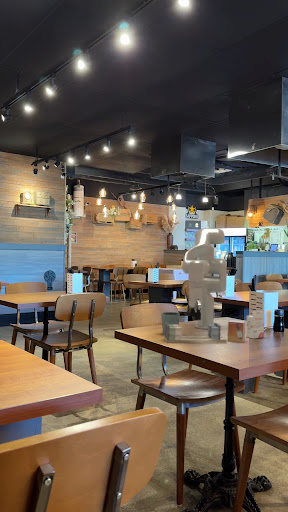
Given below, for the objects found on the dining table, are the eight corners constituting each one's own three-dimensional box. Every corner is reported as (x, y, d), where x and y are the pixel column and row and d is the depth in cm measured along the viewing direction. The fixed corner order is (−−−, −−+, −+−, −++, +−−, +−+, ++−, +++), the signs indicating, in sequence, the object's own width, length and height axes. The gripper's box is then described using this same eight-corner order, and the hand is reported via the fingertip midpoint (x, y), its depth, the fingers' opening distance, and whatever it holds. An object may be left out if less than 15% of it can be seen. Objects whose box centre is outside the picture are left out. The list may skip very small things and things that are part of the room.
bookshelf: (164, 339, 220) (164, 322, 220) (220, 339, 223) (220, 322, 223) (167, 344, 209) (167, 326, 209) (226, 344, 212) (226, 326, 212)
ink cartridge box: (257, 335, 235) (258, 309, 235) (264, 337, 231) (264, 310, 231) (245, 336, 231) (246, 310, 231) (252, 338, 227) (252, 311, 227)
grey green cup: (183, 335, 232) (183, 313, 232) (171, 337, 225) (171, 315, 225) (168, 332, 239) (169, 311, 239) (157, 334, 232) (157, 313, 232)
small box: (227, 341, 218) (227, 321, 218) (229, 339, 224) (230, 319, 223) (243, 343, 215) (243, 322, 215) (244, 341, 221) (245, 321, 220)
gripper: (185, 283, 224) (184, 315, 225) (192, 286, 207) (191, 321, 207) (199, 283, 225) (198, 315, 225) (207, 286, 208) (206, 321, 208)
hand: (195, 318), depth 216 cm, fingers open, 9 cm apart
